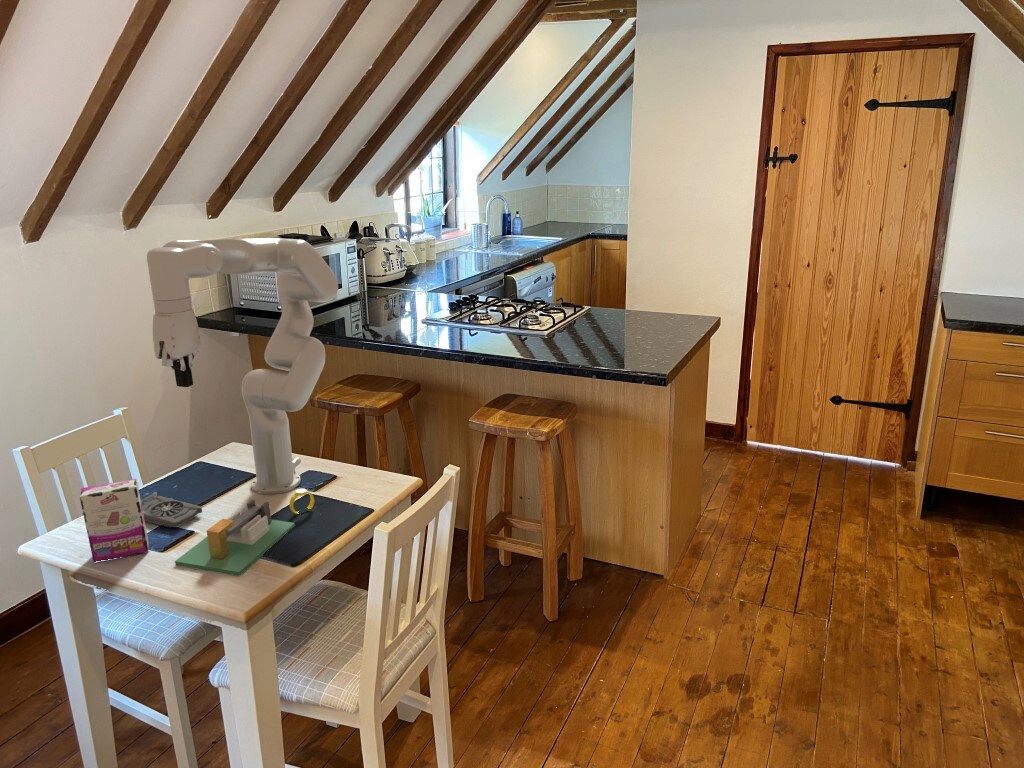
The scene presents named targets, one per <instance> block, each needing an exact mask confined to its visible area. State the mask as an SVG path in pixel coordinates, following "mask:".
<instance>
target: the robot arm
mask: <svg viewBox="0 0 1024 768" xmlns="http://www.w3.org/2000/svg"><path fill="white" fill-rule="evenodd" d="M324 259H325V258H323V257H322V255H321V254H320V253H319V252H318V250H316V248H315V247H314V246H313V245H311V244H310V243H309V242H308V241H306V240H304V239H296V238H295V239H294V238H282V237H264V238H263V237H260V238H259V237H258V238H224V239H223V238H222V239H194V240H193V239H186V240H170V241H168V242H167V243H164V244H163V246H161V247H155V248H152V249H149V250H148V251H147V253H146V261H147V262H146V263H147V268H148V274H149V282H150V289H151V293H152V294H151V295H152V300H153V301H152V302H153V305H154V306H153V307H154V308H153V309H154V313H155V314H153V316H152V317H153V318H152V340H153V348H154V349H153V351H154V355H155V358H156V359H158V360H159V359H160V360H161V366H163V367H169V368H171V370H172V371H174V376H175V377H174V378H175V384H176V387H181V388H189V387H191V386H193V385H194V380H193V372H192V368H193V365H194V364H193V361H194V358H195V357H196V356H198V355H199V353H200V351H199V350H200V349H201V347H202V346H201V344H202V343H201V335H200V328H199V324H198V320H197V317H196V314H195V310H194V308H193V305H192V297H191V296H192V295H191V288H190V283H189V282H190V281H189V280H191V279H199V278H201V279H204V278H210V277H213V276H215V275H217V274H224V275H225V274H226V275H232V276H233V275H236V276H237V275H239V276H246V275H257V274H270V273H273V274H274V273H279V274H278V275H277V279H276V280H277V281H276V285H277V291H278V293H279V297H280V300H281V306H282V311H281V316H280V318H279V320H278V323H277V325H276V327H275V328H274V331H273V333H272V335H271V337H270V339H269V340H268V343H267V345H266V348H265V350H264V360H265V362H266V364H267V365H269V366H270V367H272V368H274V369H267V368H259V369H258V368H257V369H253V370H251V371H249V372H247V373H246V375H244V377H243V379H242V382H241V395H242V398H243V402H244V404H245V408H246V411H247V413H248V414H247V415H248V419H249V426H250V428H249V429H250V434H251V435H250V436H251V444H252V452H253V460H254V468H255V469H254V470H255V476H256V477H254V478H252V481H251V482H250V487H251V489H252V490H253V491H254V492H256V493H258V494H262V495H276V494H282V493H286V492H289V491H292V490H293V489H295V488H296V487H298V486H299V485H300V483H301V482H302V480H301V475H300V474H299V473H298V472H296V471H295V469H296V468H297V466H299V465H300V464H301V463H302V460H301V459H300V458H299V457H295V458H294V459H293V454H292V453H293V452H292V443H291V435H290V432H291V431H290V423H289V418H288V414H287V412H290V413H291V412H297V411H300V410H302V409H303V408H304V406H305V405H306V404H307V403H308V401H309V400H310V397H311V394H312V393H313V391H314V389H315V387H316V384H317V382H318V380H319V378H320V375H321V374H322V372H323V369H324V366H325V363H326V349H325V346H324V344H323V342H322V341H321V340H319V339H318V338H316V337H313V336H310V335H311V332H312V330H313V328H314V321H315V320H314V316H313V312H312V309H311V307H310V304H309V302H313V303H328V302H330V301H332V300H334V298H336V296H337V293H338V291H339V282H338V278H337V276H336V274H335V272H334V271H333V270H332V269H331V267H330V266H329V265H328V263H327V261H326V260H324ZM275 369H277V370H275ZM278 369H279V370H282V371H279V370H278ZM284 371H285V372H284ZM286 371H287V372H286Z"/></svg>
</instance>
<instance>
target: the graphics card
mask: <svg viewBox="0 0 1024 768" xmlns="http://www.w3.org/2000/svg"><path fill="white" fill-rule="evenodd" d="M157 493H158V492H155V491H153V493H152V494H150V495H148V496H146V497H144V498H143V499H141V504H142V509H143V515H144V520H145V522H148V523H153V524H155V525H160V526H163V525H164V527H166V528H172V526H173V528H178V527H180V525H182V524H185V523H186V522H189V521H192V520H193V518H194V517H196V516H197V515H198V514H201V513H202V512H203V508H202V506H200V505H197V504H192V503H188V502H184V501H180V500H176V499H173V498H168V497H165V496H162V495H158V494H157ZM168 526H169V527H168Z"/></svg>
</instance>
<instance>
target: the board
mask: <svg viewBox="0 0 1024 768" xmlns="http://www.w3.org/2000/svg"><path fill="white" fill-rule="evenodd" d="M254 504H256V500H255V499H251V500H249V501H248V502H247V503H246V507H247V509H246V510H248V509H249V508H250V507H252V506H253V505H254ZM260 505H261V511H260V512H259V513H257V514H256V515H255V516H254V517H252V518H251V519H250V520H249V521H247V522H246V523H245V524H244V525H242V526H241V527H240V528H238V529H237V530H236V531H235V532H233V533H232V534H231V535H230V536H228V537H227V543H228V550H229V554H228V555H227V556H225V557H224V558H223V559H218V558H212V557H210V551H209V545H208V538H207V536H205V538H203V539H202V540H200V542H198V543H196V544H195V545H194V546H193V547H192V548H190V549H188V551H186V552H185V553H184V554H182V555H181V556H180V557H179V558H177V559H176V560H174V564H175V565H174V566H178V567H185V568H189V569H195V570H200V571H201V570H202V571H207V572H213V573H219V574H225V575H230V576H236V577H241V576H242V575H243V574H244V573H245V572H246V571H247V570H248V569H249V568H251V567H252V566H253V565H254V564H255V563H256V562H258V560H260V559H261V558H262V557H263V556H264V555H265V554H266V553H267V552H268V551H269V550H268V549H269V548H271V547H272V546H273V545H274V544H275V543H276V542H277V541H278V540H279V539H281V538H282V537H283V536H284V535H285V534H286V533H287V532H288V531H289V530H290V529H292V528H293V527H294V526H295V527H296V524H295V522H290V521H285V520H276V519H272V516H271V508H270V502H269V501H265V502H263V503H262V504H260ZM240 515H241V512H240V511H237V512H235V513H234V514H233V515H231V516H230V517H229V518H228V519H229V520H235V519H236V518H237V517H238V516H240ZM295 527H294V528H295ZM294 528H293V529H294ZM293 529H292V530H293ZM287 534H288V533H287ZM287 534H286V535H287ZM286 535H285V536H286ZM285 536H284V537H285ZM284 537H283V538H284ZM283 538H282V539H283ZM282 539H281V540H282ZM277 543H278V542H277ZM277 543H276V544H277ZM276 544H275V545H276ZM275 545H274V546H275ZM274 546H273V547H274ZM273 547H272V548H273ZM272 548H271V549H272ZM267 550H268V551H267ZM266 551H267V552H266ZM265 552H266V553H265ZM264 553H265V554H264ZM263 554H264V555H263Z"/></svg>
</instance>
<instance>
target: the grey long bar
mask: <svg viewBox="0 0 1024 768" xmlns="http://www.w3.org/2000/svg"><path fill="white" fill-rule="evenodd" d="M261 505H262V504H256V503H255V504H254V505H253V506H252V507H250V508H249V509H246V510H245V511H244V512H243V513H240V516H238V517H237V518H236V519H235V520H234V522H235V525H233V526H232V527H231V528H230V529H228V530H227V531H226V536H227V537H228V536H230V535H231V534H232V533H233V532H235V531H236V530H237V529H238V528H240V527H241V526H242V525H244V524H245V523H246V522H247V521H249V520H250V519H251V518H252V517H254V516H255V515H256V514H257V513H259V512H260V511H261Z"/></svg>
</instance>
